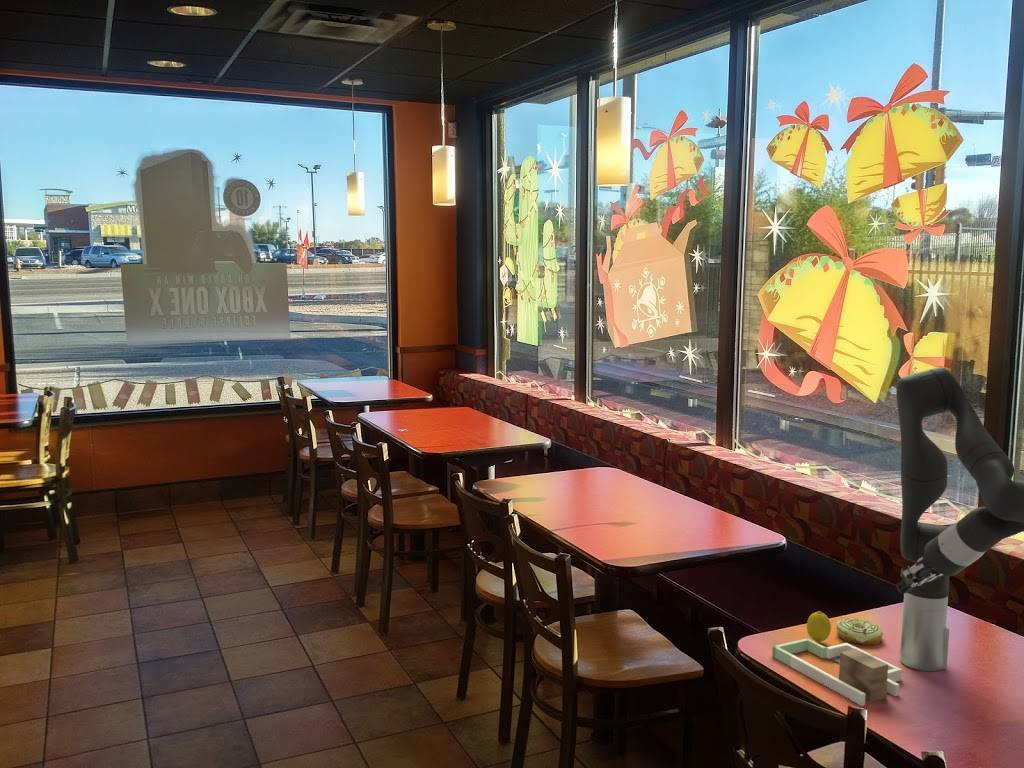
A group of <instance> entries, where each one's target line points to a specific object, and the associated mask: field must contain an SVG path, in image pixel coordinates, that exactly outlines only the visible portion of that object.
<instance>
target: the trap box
mask: <svg viewBox="0 0 1024 768" xmlns="http://www.w3.org/2000/svg"><path fill="white" fill-rule="evenodd" d="M825 647H826V646H825ZM852 649H857V650H859V651H861V652H863V653H865V654H867V655H869V656H871V657H873V658H875V659H877V660H880V661H882V662H884V663H886V664H888V675H887V691H886V693H888V694H890V695H892V696H894V697H898V696H900V686H901V685H900V683H897V682H899V681H902V672H903V669H902V668H900V667H898V666H895V664H894V665H893V664H891V663H889V662H887V661H885V660H884V659H881V658H880V657H878V656H875V655H873V654H871V653H869V652H868V651H865V650H863V649H860V648H858V647H856V646H855V645H852V644H850V643H849V642H843V643H840V644H836V645H830V646H827V647H826V658H825V659H827V658H828V659H827V660H831V661H833V662H834V661H835V663H836V662H837V663H836V664H838V665H840V652H844V651H848V650H852ZM789 667H791V668H793V669H794V670H796V671H798V672H800V673H801V674H803V675H805V676H807V677H808V678H810V679H812V680H814V681H816V682H818V683H819V684H821V683H822V684H821V685H823V686H825V687H826V686H827V687H826V688H828V687H829V688H828V689H830V690H832V691H834V692H835V691H836V692H835V693H837V692H838V694H839V693H840V695H841V694H842V695H841V696H843V695H844V696H845V697H844V696H843V697H844V698H846V697H847V698H846V699H848V698H849V699H848V700H849V701H851V702H854V703H855V704H857V705H859V706H860V707H863V706H865V705H866V699H865V696H866V694H865V693H863V692H861V691H860V690H858V689H856V688H854V687H852V686H850V685H848V684H847V683H845V682H843V681H841V680H839V678H837V677H836V676H834V675H831V674H830V673H827V672H825V671H824V670H822V669H820V668H819V667H817V666H815V665H813V664H811V663H809V662H807V661H806V660H804V659H802V658H800V657H798V656H797V655H794V654H793V656H791V659H790V666H789Z"/></svg>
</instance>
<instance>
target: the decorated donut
mask: <svg viewBox="0 0 1024 768" xmlns="http://www.w3.org/2000/svg"><path fill="white" fill-rule="evenodd" d="M835 628H836V631H837V635H839V637H840V638H841V639H843V640H844V641H846V640H847V641H846V642H848V641H849V642H848V643H852V642H853V644H858V643H859V644H858V645H863V644H864V645H863V646H873V644H874V645H878V644H880V642H881V641H882V639H883V635H884V633H883V629H881V627H880V626H879V625H877V624H875V623H874V622H872V621H869V620H865V619H862V618H855V617H852V618H851V617H850V618H848V617H847V618H843V619H840V620H838V621H837V622H836V625H835Z"/></svg>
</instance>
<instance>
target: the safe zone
mask: <svg viewBox="0 0 1024 768" xmlns="http://www.w3.org/2000/svg"><path fill="white" fill-rule="evenodd" d="M771 650H772V651H771V657H773V658H774V659H776V660H778V661H780V662H782V663H783V664H786V665H787V666H789V667H790V659H791V656H793V655H794V654H798V653H801V652H805V651H807V650H808V651H807V652H809V651H810V653H811V652H812V653H811V654H813V655H815V656H818V657H819V658H821V659H827V658H826V646H824V645H823V644H820V643H817V642H816V641H815V640H813V639H810V638H809V637H807V638H806V637H805V638H802V639H798V640H794V641H789V642H785V643H780V644H776V645H772V649H771Z"/></svg>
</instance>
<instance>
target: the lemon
mask: <svg viewBox="0 0 1024 768" xmlns="http://www.w3.org/2000/svg"><path fill="white" fill-rule="evenodd" d="M831 625H832V624H831V621H830V619H829V617H828V616H827V615H826V614H825V613H824V612H822V611H820V610H819V611H816V612H813V613H811V614H810V616H809V617H808V618H807V623H806V630H807V634H808V636H809V637H810V638H811V640H812V641H814V642H816V643H818V644H820V642H823V641H826V640H827V639H828V638H829V636H830V635H831V629H832V626H831Z"/></svg>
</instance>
